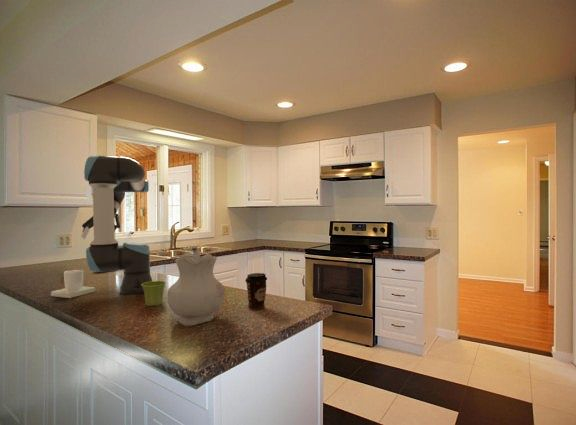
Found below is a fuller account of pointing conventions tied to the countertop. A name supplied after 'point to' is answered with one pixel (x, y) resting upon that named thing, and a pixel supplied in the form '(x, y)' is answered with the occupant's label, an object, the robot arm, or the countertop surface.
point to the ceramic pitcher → (195, 289)
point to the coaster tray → (69, 295)
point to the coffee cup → (256, 290)
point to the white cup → (73, 281)
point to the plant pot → (153, 292)
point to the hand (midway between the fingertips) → (95, 237)
